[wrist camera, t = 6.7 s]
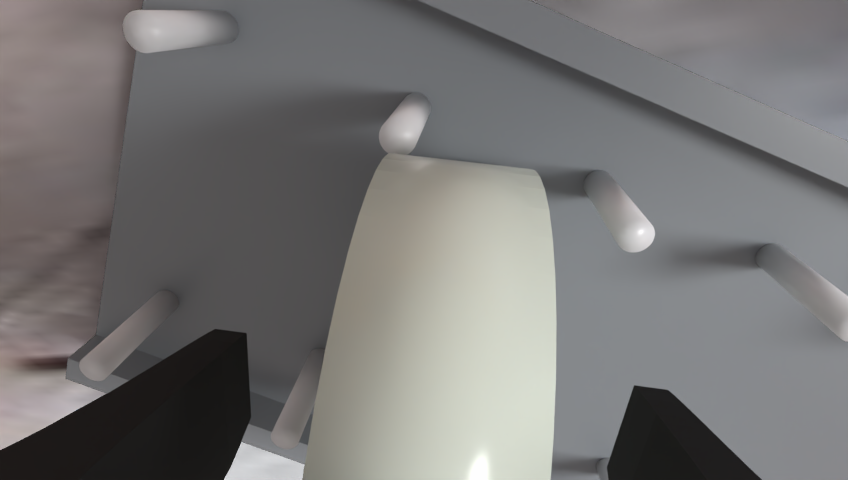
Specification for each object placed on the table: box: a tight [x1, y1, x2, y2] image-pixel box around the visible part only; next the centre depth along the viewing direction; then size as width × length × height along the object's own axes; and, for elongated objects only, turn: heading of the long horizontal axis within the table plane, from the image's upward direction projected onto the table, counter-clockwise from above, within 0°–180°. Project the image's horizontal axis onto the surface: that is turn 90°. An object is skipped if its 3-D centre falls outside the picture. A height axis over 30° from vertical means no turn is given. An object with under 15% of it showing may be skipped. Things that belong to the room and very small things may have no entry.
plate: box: [303, 153, 557, 480], centre depth 10 cm, size 2×9×9 cm, turn 175°
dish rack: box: [66, 0, 848, 480], centre depth 13 cm, size 23×14×4 cm, turn 68°
